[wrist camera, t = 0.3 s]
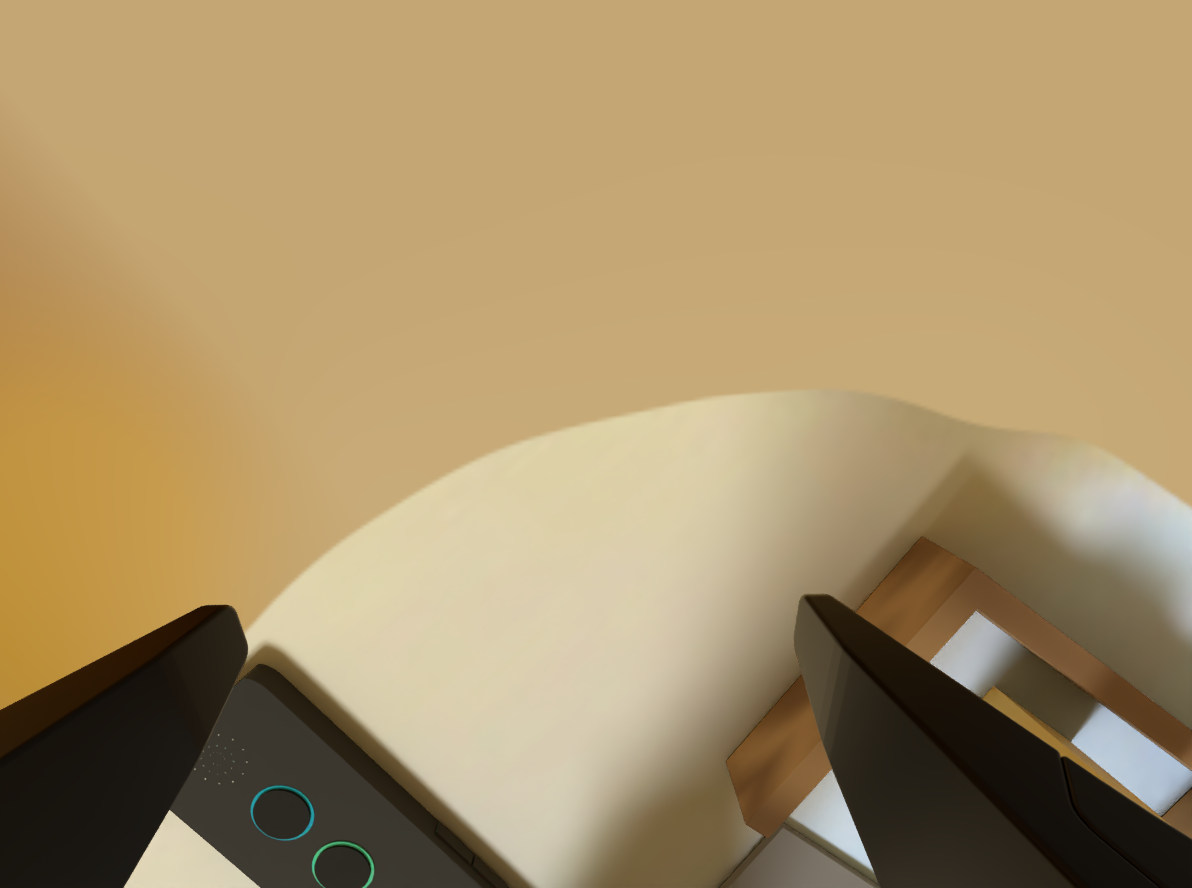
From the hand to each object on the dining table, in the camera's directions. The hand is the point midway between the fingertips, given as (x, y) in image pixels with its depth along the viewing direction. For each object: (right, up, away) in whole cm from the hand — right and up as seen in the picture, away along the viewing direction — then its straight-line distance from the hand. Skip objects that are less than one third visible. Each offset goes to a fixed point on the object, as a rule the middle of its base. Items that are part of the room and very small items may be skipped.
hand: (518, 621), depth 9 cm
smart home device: (-11, -17, +19) cm, 28 cm away
